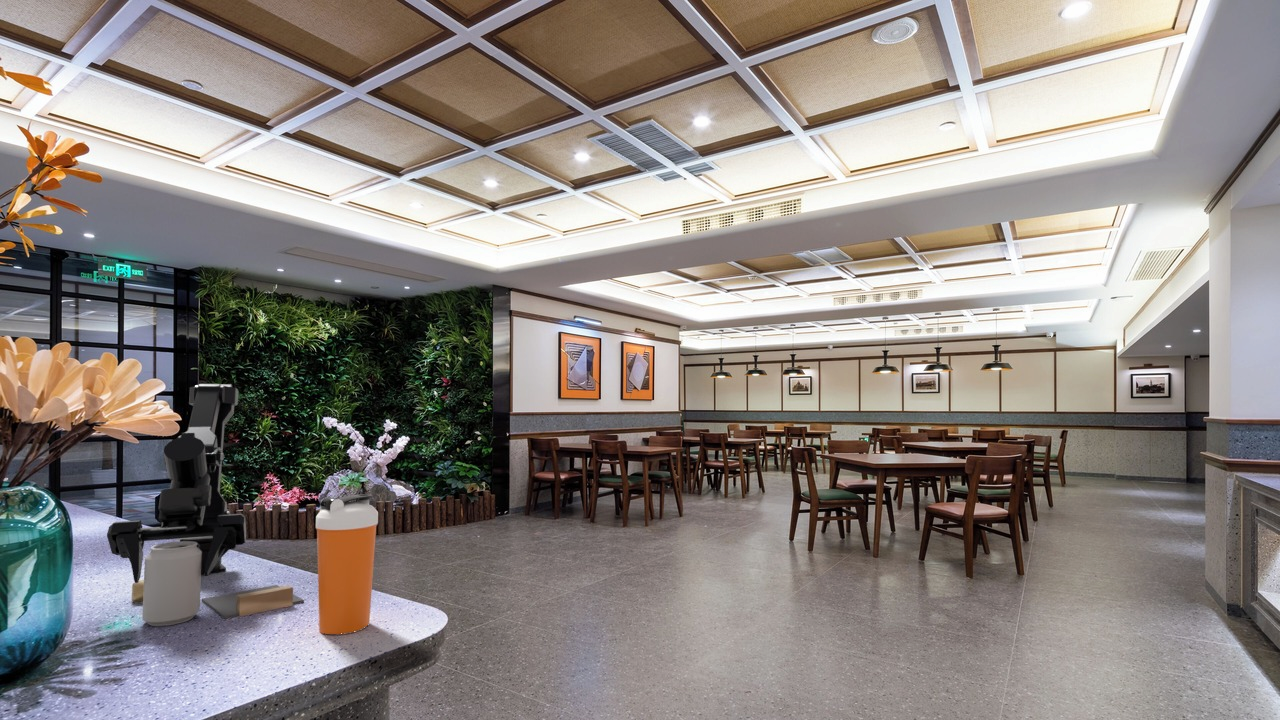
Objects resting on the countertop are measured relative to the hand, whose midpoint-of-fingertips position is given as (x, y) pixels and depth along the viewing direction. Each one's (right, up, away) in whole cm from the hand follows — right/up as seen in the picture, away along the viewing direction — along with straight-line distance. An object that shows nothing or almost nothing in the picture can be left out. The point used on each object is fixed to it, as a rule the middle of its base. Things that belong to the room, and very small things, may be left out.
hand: (171, 578), depth 104 cm
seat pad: (+8, -7, +10) cm, 14 cm away
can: (-1, -7, +1) cm, 7 cm away
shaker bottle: (+29, -7, -3) cm, 30 cm away
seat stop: (+12, -7, +6) cm, 15 cm away
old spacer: (-13, -8, +12) cm, 20 cm away
